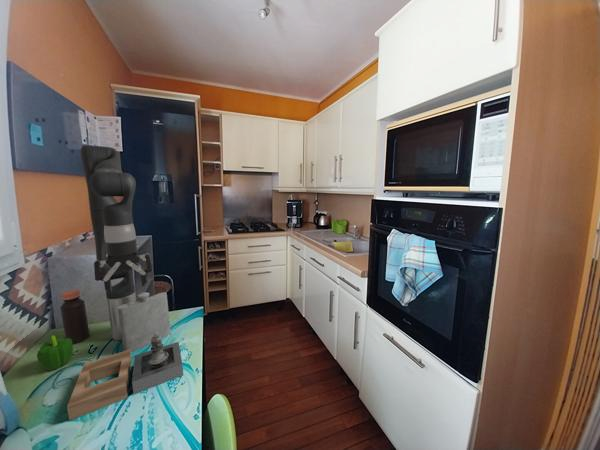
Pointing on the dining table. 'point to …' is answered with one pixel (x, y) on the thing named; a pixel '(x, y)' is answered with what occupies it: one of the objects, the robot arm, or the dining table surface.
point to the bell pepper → (55, 353)
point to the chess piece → (157, 354)
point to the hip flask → (144, 320)
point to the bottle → (74, 316)
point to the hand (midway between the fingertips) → (127, 288)
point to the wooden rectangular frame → (100, 384)
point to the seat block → (158, 376)
